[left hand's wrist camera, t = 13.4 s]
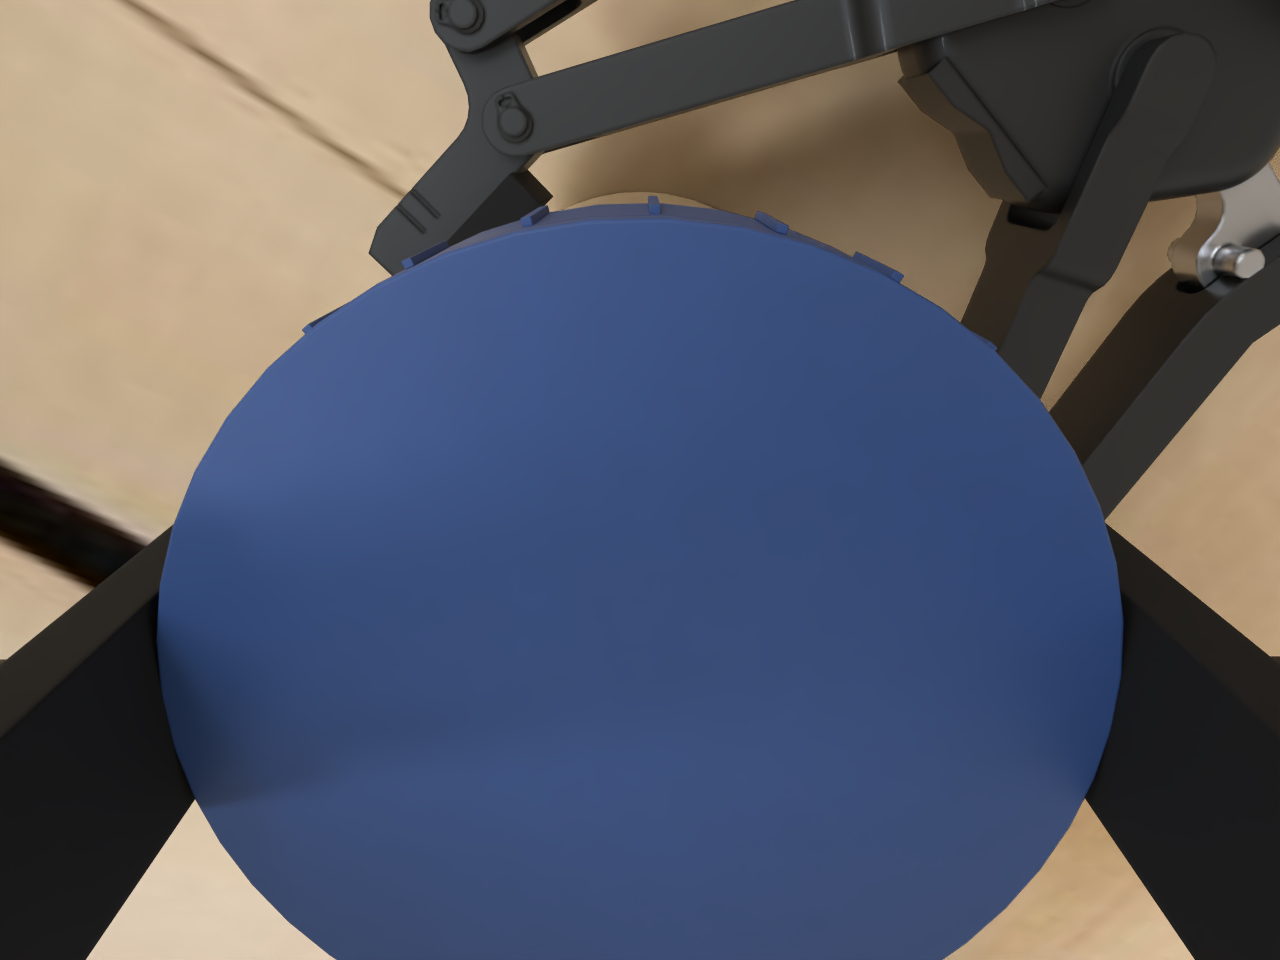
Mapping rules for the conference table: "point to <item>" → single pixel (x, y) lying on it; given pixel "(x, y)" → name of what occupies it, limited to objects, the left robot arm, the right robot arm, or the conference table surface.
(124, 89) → the conference table surface
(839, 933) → the lid
